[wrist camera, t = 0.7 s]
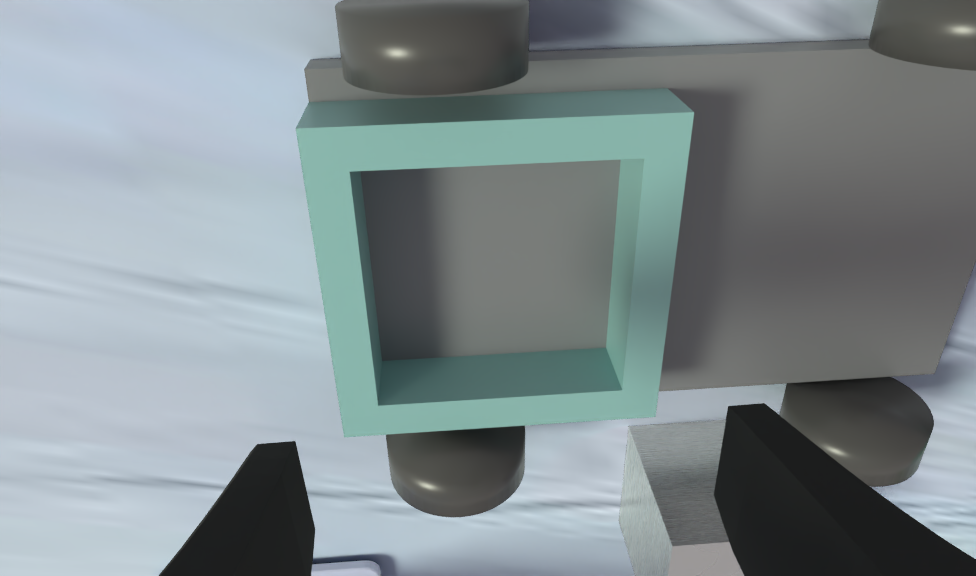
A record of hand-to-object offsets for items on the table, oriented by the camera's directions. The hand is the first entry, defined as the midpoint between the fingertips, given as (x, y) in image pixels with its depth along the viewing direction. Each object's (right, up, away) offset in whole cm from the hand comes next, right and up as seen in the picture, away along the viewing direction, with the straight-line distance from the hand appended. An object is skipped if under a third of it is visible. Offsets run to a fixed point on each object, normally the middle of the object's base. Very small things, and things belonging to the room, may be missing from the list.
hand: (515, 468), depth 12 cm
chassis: (+4, +5, +8) cm, 10 cm away
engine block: (+7, -3, +13) cm, 15 cm away
